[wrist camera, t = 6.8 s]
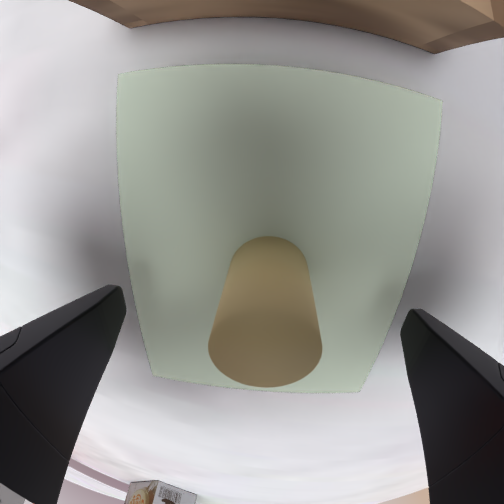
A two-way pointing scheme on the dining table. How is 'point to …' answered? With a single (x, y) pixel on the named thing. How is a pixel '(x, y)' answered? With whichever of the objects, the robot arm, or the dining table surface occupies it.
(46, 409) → the robot arm
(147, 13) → the box
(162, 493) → the coffee box
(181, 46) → the dining table surface
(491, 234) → the dining table surface
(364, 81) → the lid
